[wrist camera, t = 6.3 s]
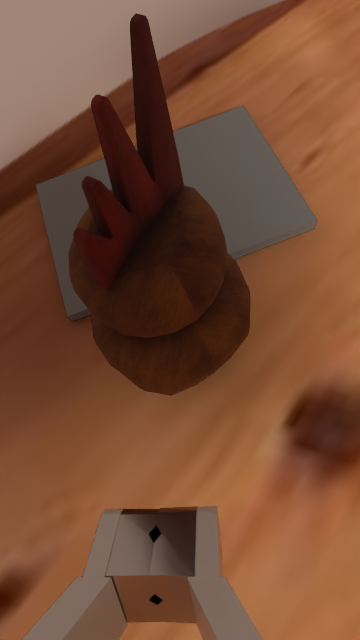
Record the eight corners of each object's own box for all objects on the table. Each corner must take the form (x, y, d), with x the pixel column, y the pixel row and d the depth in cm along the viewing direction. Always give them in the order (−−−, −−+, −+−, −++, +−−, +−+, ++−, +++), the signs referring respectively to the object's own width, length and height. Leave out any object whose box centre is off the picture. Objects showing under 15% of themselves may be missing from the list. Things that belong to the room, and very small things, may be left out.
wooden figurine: (200, 276, 21) (142, -67, 7) (264, 345, 19) (362, 56, 5) (111, 342, 20) (-152, 107, 6) (167, 423, 18) (-37, 336, 4)
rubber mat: (314, 228, 21) (317, 220, 20) (72, 321, 21) (67, 316, 20) (242, 115, 25) (243, 104, 24) (41, 192, 25) (35, 184, 24)
